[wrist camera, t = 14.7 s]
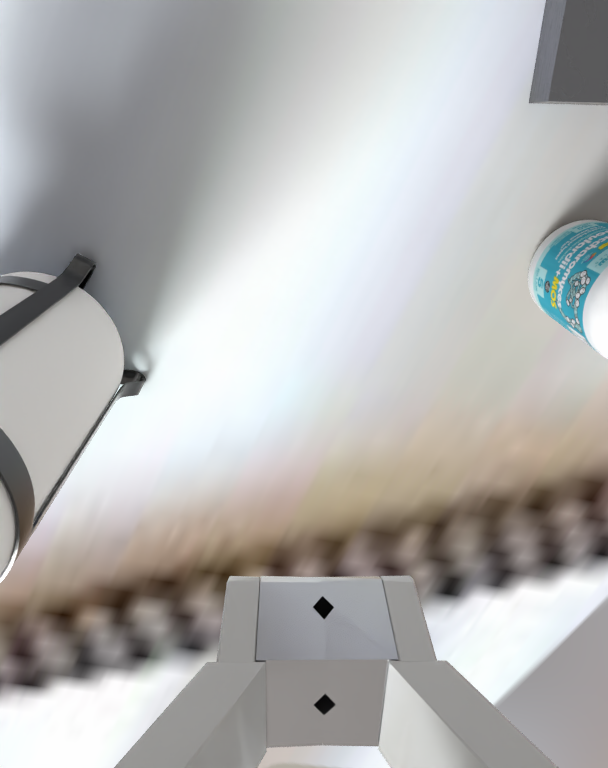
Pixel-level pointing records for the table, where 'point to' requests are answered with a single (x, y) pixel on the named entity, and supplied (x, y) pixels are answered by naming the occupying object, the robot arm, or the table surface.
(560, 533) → the table surface
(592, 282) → the pill bottle
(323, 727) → the robot arm
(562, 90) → the panel
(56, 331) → the coffee press
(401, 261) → the table surface
